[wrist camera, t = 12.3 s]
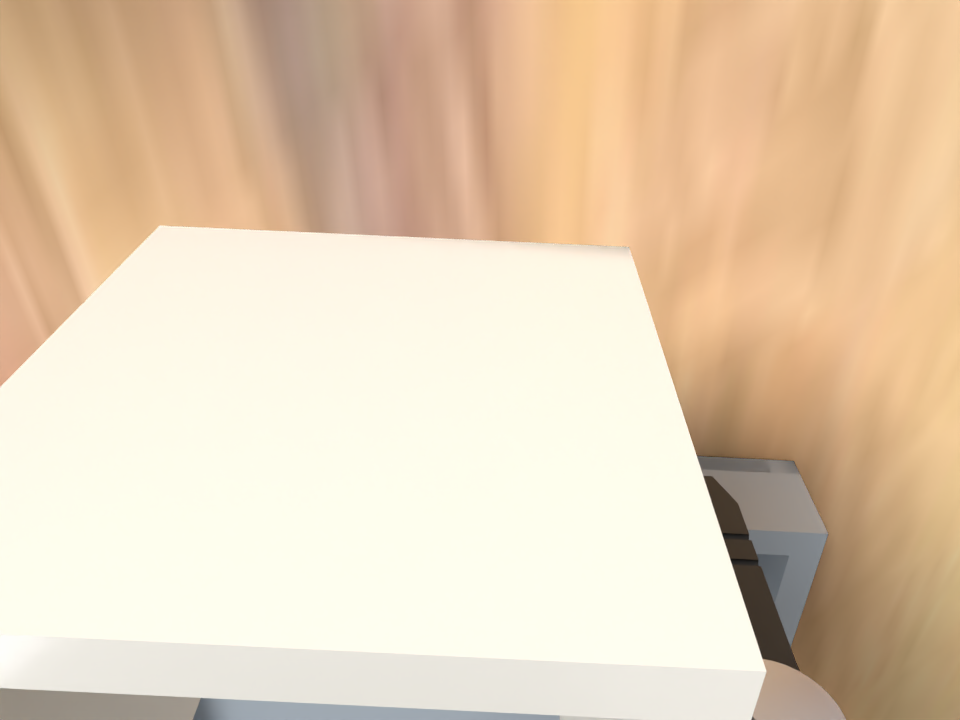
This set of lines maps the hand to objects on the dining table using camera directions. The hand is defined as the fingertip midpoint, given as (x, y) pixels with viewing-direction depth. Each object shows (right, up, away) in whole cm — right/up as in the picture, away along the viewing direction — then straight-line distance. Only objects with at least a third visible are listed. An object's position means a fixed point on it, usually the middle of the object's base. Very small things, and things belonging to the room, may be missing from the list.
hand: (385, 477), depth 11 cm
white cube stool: (0, +1, +1) cm, 1 cm away
